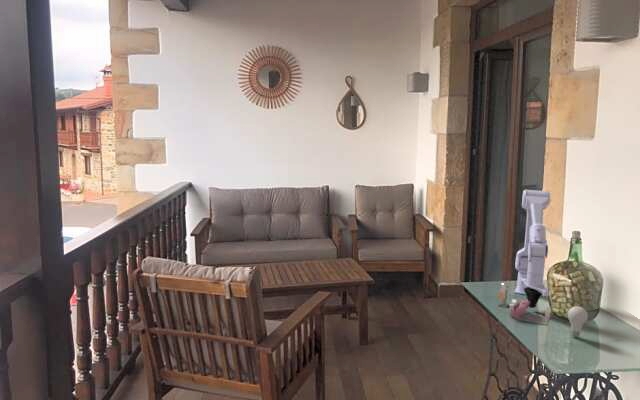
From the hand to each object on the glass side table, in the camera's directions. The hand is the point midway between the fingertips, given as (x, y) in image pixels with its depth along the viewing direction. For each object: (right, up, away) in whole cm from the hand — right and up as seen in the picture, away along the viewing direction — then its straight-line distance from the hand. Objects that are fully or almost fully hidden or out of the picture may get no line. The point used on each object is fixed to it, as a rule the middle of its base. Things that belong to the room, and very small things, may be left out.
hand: (531, 307), depth 200 cm
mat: (-3, -3, -7) cm, 8 cm away
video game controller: (-6, -2, -4) cm, 8 cm away
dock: (-2, -1, +1) cm, 3 cm away
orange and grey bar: (-11, +6, -1) cm, 13 cm away
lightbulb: (+6, -6, -22) cm, 24 cm away
